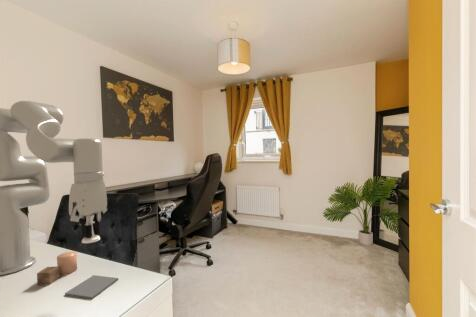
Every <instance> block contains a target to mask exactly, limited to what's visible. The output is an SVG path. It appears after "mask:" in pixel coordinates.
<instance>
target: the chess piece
mask: <svg viewBox="0 0 476 317" xmlns="http://www.w3.org/2000/svg"><path fill="white" fill-rule="evenodd" d="M93 218H94V214H91V215H90V224H89V225H92V237H91V238H83V237H82V239H81V243H82V244H92V243H93V244H94V243H97V242H98V241H100V240H101V237H100V235H99V234H98V235H96V234H94V230H93V223H95V222H94V221H93Z"/></svg>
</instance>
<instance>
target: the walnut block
mask: <svg viewBox="0 0 476 317" xmlns="http://www.w3.org/2000/svg"><path fill="white" fill-rule="evenodd" d="M59 278H60V275H59V267H57V266H46V267H45V268H43V269H42V270H40V271H38V272H37V273H36V280H37V286H47V285H49V286H50V285H52V284H53V283H54V282H56V281H57V280H58V279H59Z"/></svg>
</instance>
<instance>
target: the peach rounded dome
mask: <svg viewBox="0 0 476 317" xmlns="http://www.w3.org/2000/svg"><path fill="white" fill-rule="evenodd" d="M56 265H57V266H56V267H59V276H66V275H71V274H72V273H74V272H76V271H77V270H78V259H77V252H76V251H68V252H67V251H66V252H64V253H61V254H59V255H57V257H56Z"/></svg>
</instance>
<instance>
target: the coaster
mask: <svg viewBox="0 0 476 317" xmlns="http://www.w3.org/2000/svg"><path fill="white" fill-rule="evenodd" d="M118 280H119V277H114V276H113V277H112V276H111V277H110V276H103V275H96V274H95V275H94V274H93V275H92V276H90V277H88V278H86V279H85V280H83V281H82V282H80V283H79V284H77V285H76V286H74V287H72V288H71V289H70V290H68V291H66V292H65V293H64V295H65V296H67V297H68V296H69V297H76V298H80V299H81V298H83V299H88V300H93V299H95V298H96V297H97V296H99V295H100V294H101V293H103V292H104V291H106V290H107V289H108V288H110V287H111V286H113V284H115V283H116V282H118Z"/></svg>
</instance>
